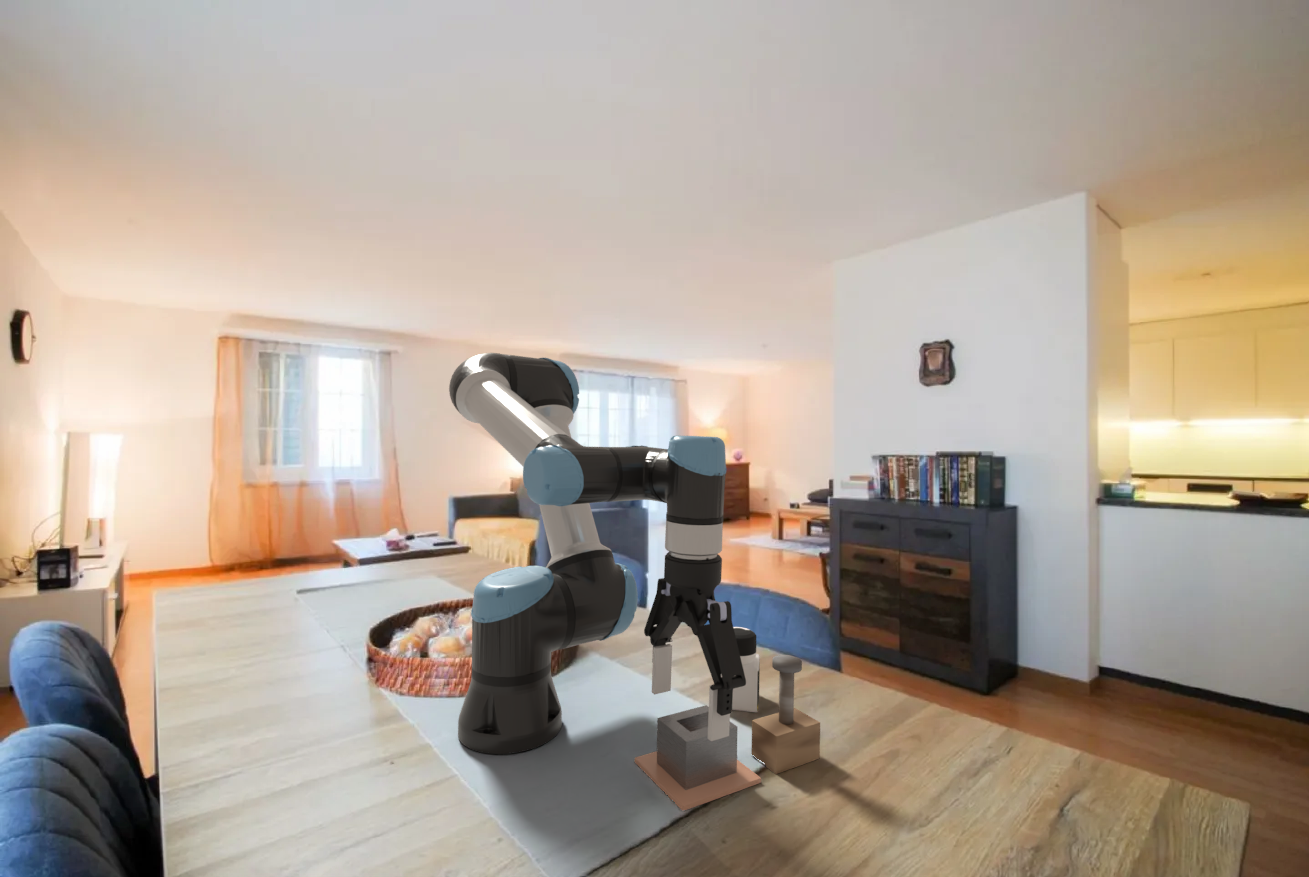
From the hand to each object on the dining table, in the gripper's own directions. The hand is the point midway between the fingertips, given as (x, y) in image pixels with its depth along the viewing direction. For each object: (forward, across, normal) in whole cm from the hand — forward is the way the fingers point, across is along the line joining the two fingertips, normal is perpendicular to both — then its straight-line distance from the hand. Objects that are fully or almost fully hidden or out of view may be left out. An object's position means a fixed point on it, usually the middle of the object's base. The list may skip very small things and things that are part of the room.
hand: (687, 712), depth 77 cm
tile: (+8, -1, -1) cm, 8 cm away
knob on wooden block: (+8, -4, -14) cm, 16 cm away
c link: (+7, -1, -1) cm, 7 cm away
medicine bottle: (+8, +13, -19) cm, 25 cm away
